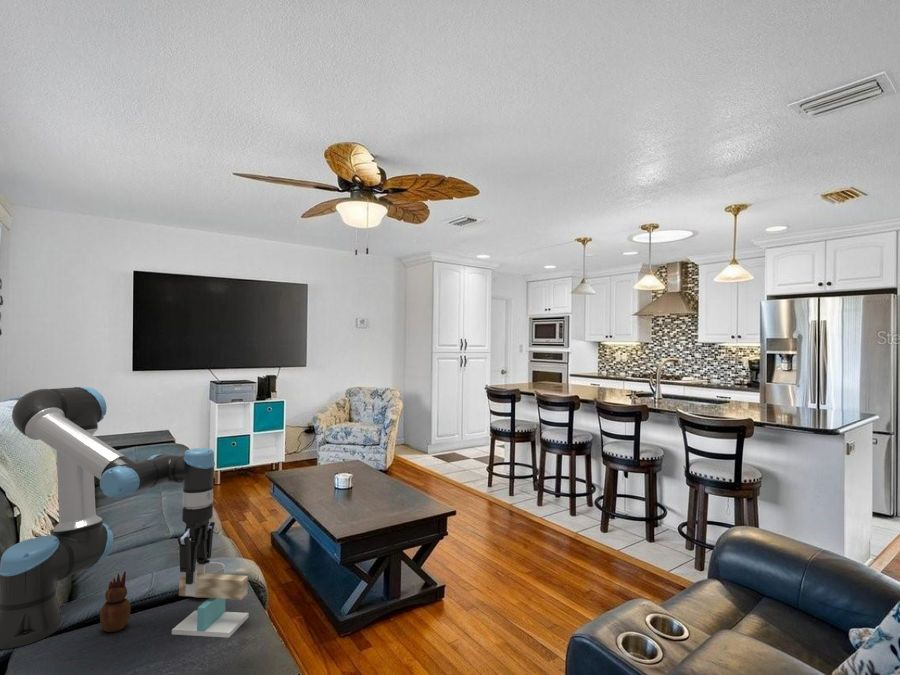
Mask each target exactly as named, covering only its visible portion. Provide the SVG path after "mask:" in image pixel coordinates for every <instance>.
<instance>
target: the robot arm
mask: <svg viewBox="0 0 900 675" xmlns="http://www.w3.org/2000/svg"><path fill="white" fill-rule="evenodd" d="M11 412H12V413H11V418H12V422H13V425H14V427H15V428H16V429H17V431H19V432H20V433H22V434H23V435H24V436H26V437H27V438H28V439H31V440H35V441H38V440H40V441H42V443H44V444H46V445H47V446H49V447H51V449H53V450H54V451H56V454H55V455H56V473H57V494H58V496H57V497H58V499H57V500H58V518H59V519H58V523H57V524H56V526H54V528H53V529H52V535H48V534H47V535H40V536H36V537H33V538H32V537H30V538H28V539H25V540H22V541H19V542H18V543H16V544H13V545H12V546H10V547H9V548H7V549H5V551H4V552H3V553H2V556H1V558H0V650H7V649H13V648H14V649H15V648H19V647H23V646H27V645H30V644H33V643H36V642H38V641H40V640H43V639H45V638H47V637H50V636H51V635H53V634H54V633H56V632H57V631H58V630H59V629H60V628H61V627H62V625H63V622H64V620H63V618H64V614H63V612H62V610H61V607H60V604H59V601H58V599H57V582H59V581H62V580H64V579H67V578H68V577H71V576H73V575H76V574H77V573H80V572H82V571H85V570H88V569H90V568H93V567H94V566H95V565H98V564H100V563H101V562H102V561H104V560H105V559H106V557H108V555H109V554H110V553H111V551H112V548H113V543H114V534H113V531H112V530H111V529H110V526H109V525H107V523H105V522H103V518H102V517H100V516H99V515H97V513H96V512H97V511H96V510H97V509H96V497H95V496H96V493H95V491H96V490H95V489H96V488H95V477H96V478H97V479H98V480H99V487H100V488H99V489H100V490H101V491H102V493H103V495H104V496H106V497H107V498H110V499H116V498H121V497H127V496H130V495H133V494H135V493H139V492H141V491H145V490H147V489H151V488H155V487H158V486H161V485H164V484H167V483H170V484H182V486H183V487H182V506H183V508H182V511H181V512H182V515H181V517H182V518H181V521H182V522H183V523H185V528H184V534H183V535H182V536H178V537H177V543H178V545H179V546H178V547H179V573H186V594H185V595H190V596H189V597H191V596H195V595H196V594H197V573H205V568H206V563H209V562H211V561H210V559H211V557H212V549H213V537H214V536H213V535H214V528H215V525H216V523H215V522H214V521H210V520H211V519H212V518H213V515H214V505H213V502H214V475H215V465H216V464H215V463H216V462H215V452H214V450H213V449H212V448H208V447H201V448H200V447H198V448H190V449H187V450H186V451H185V452H184V455H181V454H180V455H179V454H167V453H161V454H154V455H151V456H149V458H148V459H146V460H141V461H134V460H132V459H131V458H129V457H127V456H126V455H125V454H122V453H121V452H120V451H118V450H117V449H115V448H113V447H112V446H110V445H109V444H107V443H106V442H104V441H103V440H101V439H99V438H98V437H96V436H95V435H94V434H95V433H96V432H97V431H98V430H99V427H98V426H99V425H98V423H100V422H101V421H102V420H104V417H105V416H106V414H107V402H106V399H105V397H104V396H103V395H102V394H101V392H99V391H98V390H97V389H95V388H91V387H84V386H83V387H82V386H79V387H77V386H75V387H59V388H40V389H35V390H32V391H29V392H27V393H26V394H24V395H23V396H21V397H20V398H19V399H18V400H17V402H16V403H15V404H14V406H13V409H12V411H11Z"/></svg>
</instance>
